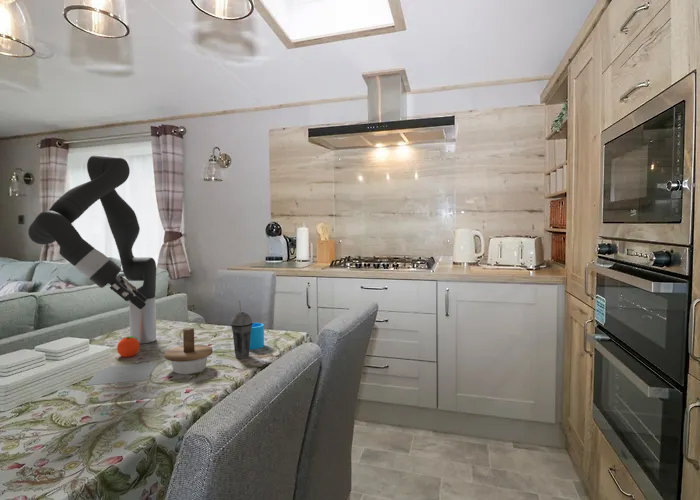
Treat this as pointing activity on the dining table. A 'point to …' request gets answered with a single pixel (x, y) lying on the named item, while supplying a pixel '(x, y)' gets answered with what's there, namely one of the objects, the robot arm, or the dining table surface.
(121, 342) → the clementine
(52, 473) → the dining table surface
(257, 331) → the mug
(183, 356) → the walnut lid
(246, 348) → the beverage cup
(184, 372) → the ramekin
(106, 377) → the slate mat
